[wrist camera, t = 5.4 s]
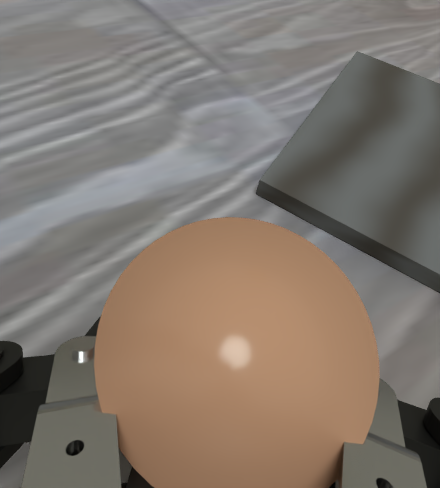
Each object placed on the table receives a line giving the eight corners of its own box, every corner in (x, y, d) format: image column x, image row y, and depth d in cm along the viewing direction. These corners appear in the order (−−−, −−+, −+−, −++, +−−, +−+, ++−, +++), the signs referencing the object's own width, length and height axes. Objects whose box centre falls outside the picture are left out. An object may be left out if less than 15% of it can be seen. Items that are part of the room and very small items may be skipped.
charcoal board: (255, 193, 22) (259, 180, 20) (350, 66, 30) (357, 51, 29) (549, 351, 17) (578, 347, 16) (560, 152, 26) (579, 139, 25)
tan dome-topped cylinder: (135, 397, 15) (25, 380, 5) (197, 307, 17) (202, 181, 8) (228, 468, 14) (311, 618, 4) (281, 362, 16) (411, 297, 6)
